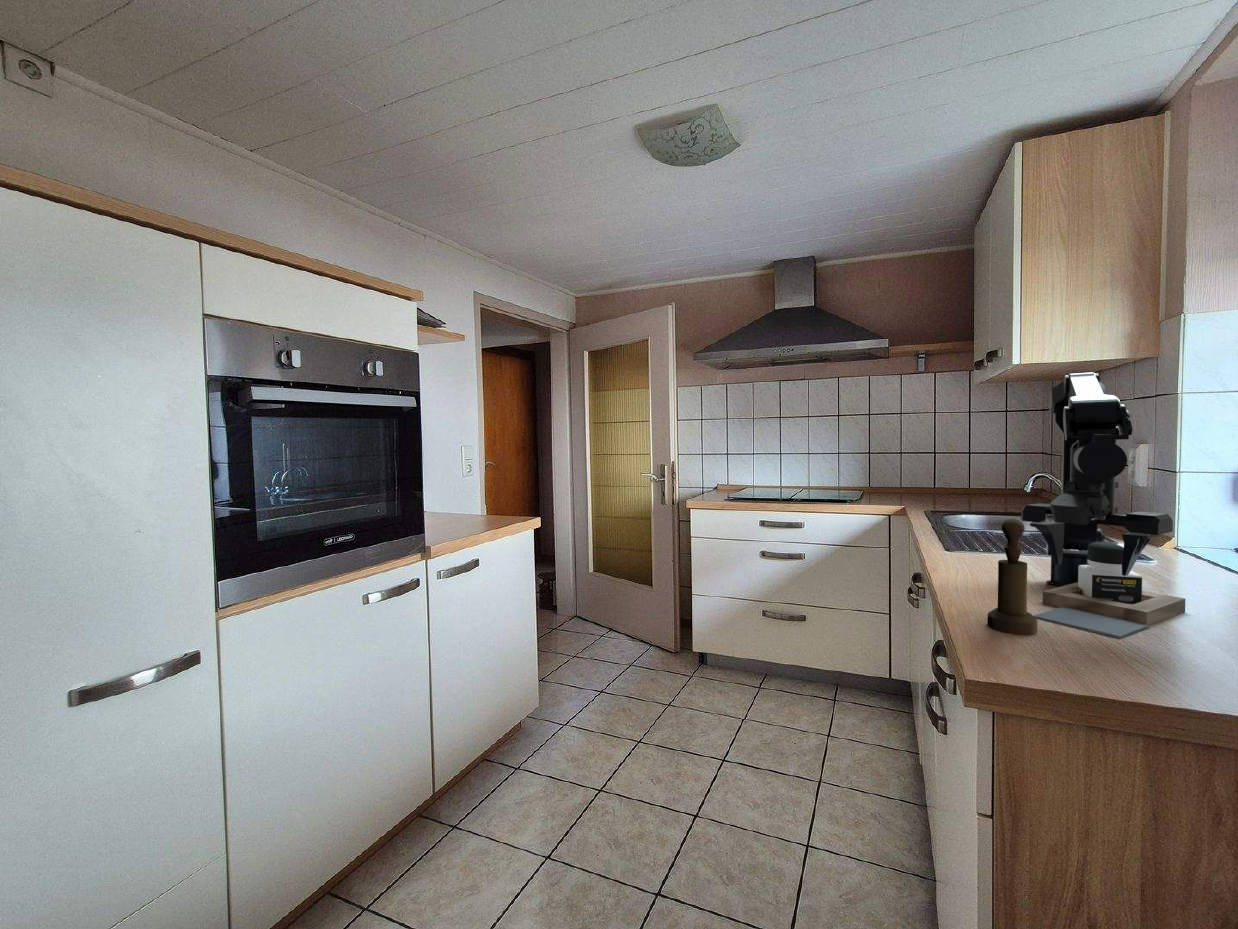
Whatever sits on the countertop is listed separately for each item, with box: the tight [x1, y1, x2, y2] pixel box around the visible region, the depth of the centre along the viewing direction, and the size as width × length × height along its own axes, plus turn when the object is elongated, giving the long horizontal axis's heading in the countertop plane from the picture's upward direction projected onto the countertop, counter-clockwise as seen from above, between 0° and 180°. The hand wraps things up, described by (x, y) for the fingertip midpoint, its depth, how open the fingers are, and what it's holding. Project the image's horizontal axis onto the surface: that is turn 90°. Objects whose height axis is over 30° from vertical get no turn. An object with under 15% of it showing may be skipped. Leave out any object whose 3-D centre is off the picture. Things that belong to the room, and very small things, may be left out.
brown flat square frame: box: [1042, 582, 1186, 627], centre depth 103 cm, size 15×15×2 cm
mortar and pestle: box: [986, 518, 1038, 636], centre depth 93 cm, size 7×6×18 cm
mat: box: [1032, 607, 1150, 640], centre depth 95 cm, size 12×10×1 cm
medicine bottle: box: [1078, 541, 1143, 605], centre depth 105 cm, size 7×7×12 cm
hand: (1090, 569), depth 95 cm, fingers open, 9 cm apart
